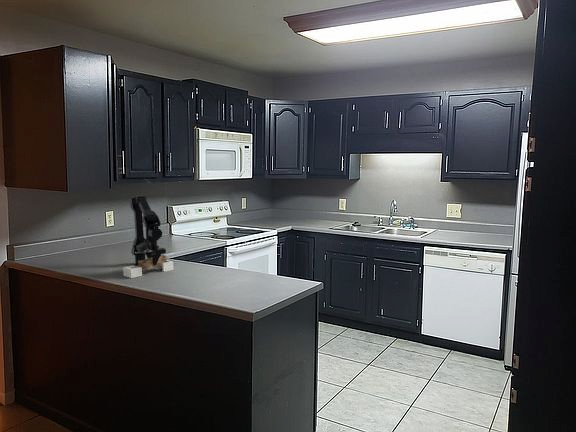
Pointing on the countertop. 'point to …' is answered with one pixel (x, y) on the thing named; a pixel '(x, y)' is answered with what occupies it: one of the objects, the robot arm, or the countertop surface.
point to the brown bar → (151, 263)
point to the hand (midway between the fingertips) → (152, 265)
